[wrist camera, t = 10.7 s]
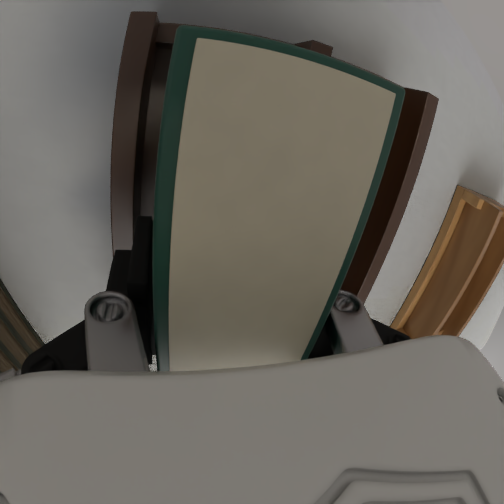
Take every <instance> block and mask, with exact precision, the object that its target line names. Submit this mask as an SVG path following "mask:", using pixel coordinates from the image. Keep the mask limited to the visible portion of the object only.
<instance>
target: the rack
mask: <svg viewBox="0 0 504 504" xmlns="http://www.w3.org/2000/svg"><path fill="white" fill-rule="evenodd" d="M181 25H188V24H176V23H159V19H158V14H157V12H141V11H133V12H131V13H130V17H129V22H128V26H127V31H126V36H125V41H124V46H123V51H122V57H121V63H120V69H119V76H118V83H117V91H116V99H115V108H114V119H113V132H112V149H111V231H112V249H113V257H114V253H115V250H132V244H133V239H134V233H135V228H136V222H137V217H138V216H152V220H153V214H154V194H155V178H156V165H157V154H158V144H159V134H160V125H161V117H162V110H163V102H164V95H165V89H166V82H167V76H168V70H169V65H170V59H171V54H172V49H173V44H174V39H175V34H176V29H177V28H178V27H179V26H181ZM189 26H197V25H189ZM199 27H206V26H199ZM207 28H213V27H207ZM214 29H220V28H214ZM221 30H226V29H221ZM227 31H232V30H227ZM233 32H238V31H233ZM239 33H243V32H239ZM244 34H248V33H244ZM249 35H253V34H249ZM254 36H258V35H254ZM259 37H262V36H259ZM263 38H267V37H263ZM268 39H271V38H268ZM272 40H275V39H272ZM276 41H279V40H276ZM280 42H283V41H280ZM284 43H287V42H284ZM287 44H290V43H287ZM291 45H295V46H298V47H301V48H305V49H308V50H311V51H314V52H318V53H321V54H324V55H326V56H329V57H331V55H332V50H333V47H331V46H329V45H326V44H323V43H320V42H317V41H314V40H311V41H306V42H301V43H297V44H291ZM332 58H334V57H332ZM335 59H337V58H335ZM338 60H340V59H338ZM340 61H342V60H340ZM343 62H345V61H343ZM346 63H348V62H346ZM348 64H350V63H348ZM351 65H353V64H351ZM353 66H355V65H353ZM356 67H358V66H356ZM358 68H360V67H358ZM361 69H363V68H361ZM363 70H365V69H363ZM366 71H367V70H366ZM368 72H370V71H368ZM370 73H372V72H370ZM373 74H374V73H373ZM375 75H376V74H375ZM377 76H379V75H377ZM379 77H381V76H379ZM382 78H383V77H382ZM384 79H385V78H384ZM386 80H387V79H386ZM388 81H389V80H388ZM390 82H392V81H390ZM392 83H394V82H392ZM394 84H396V83H394ZM396 85H398V84H396ZM398 86H400V85H398ZM400 87H402V86H400ZM402 88H404V87H402ZM404 89H405V97H404V101H403V105H402V109H401V113H400V117H399V121H398V125H397V129H396V132H395V136H394V139H393V143H392V146H391V150H390V153H389V157H388V160H387V163H386V167H385V170H384V173H383V176H382V179H381V182H380V185H379V188H378V191H377V194H376V197H375V200H374V203H373V206H372V209H371V212H370V215H369V217H368V220H367V223H366V226H365V228H364V231H363V234H362V236H361V239H360V242H359V244H358V247H357V249H356V252H355V254H354V257H353V259H352V262H351V264H350V267H349V269H348V272H347V274H346V277H345V279H344V281H343V284H342V286H341V288H340V289H343V290H347V291H349V292H351V293H353V294H355V295H356V296H357V297H358V298H359V299H360V300H361V301H362V303H363V304H364V303H365V301H366V299H367V297H368V294H369V292H370V290H371V288H372V286H373V284H374V282H375V280H376V278H377V276H378V274H379V271H380V269H381V267H382V265H383V263H384V260H385V258H386V256H387V253H388V251H389V249H390V246H391V244H392V242H393V239H394V237H395V234H396V232H397V230H398V227H399V225H400V222H401V219H402V217H403V214H404V212H405V209H406V206H407V204H408V201H409V198H410V195H411V193H412V190H413V187H414V184H415V181H416V178H417V175H418V172H419V169H420V166H421V163H422V159H423V156H424V153H425V150H426V146H427V143H428V139H429V136H430V132H431V128H432V124H433V121H434V117H435V113H436V108H437V104H438V100H439V99H438V98H437V97H435V96H434V95H432V94H430V93H429V92H425V91H420V90H415V89H410V88H404Z"/></svg>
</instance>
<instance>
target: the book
mask: <svg viewBox="0 0 504 504" xmlns="http://www.w3.org/2000/svg"><path fill="white" fill-rule="evenodd" d="M404 97H405V89H404V88H402V87H400V86H398V85H396V84H394V83H392V82H390V81H388V80H386V79H384V78H382V77H379V76H377V75H375V74H373V73H370V72H368V71H366V70H363V69H361V68H358V67H356V66H353V65H351V64H348V63H346V62H343V61H340V60H338V59H335V58H332V57H329V56H326V55H324V54H321V53H318V52H314V51H311V50H308V49H305V48H301V47H298V46H295V45H291V44H287V43H284V42H280V41H276V40H272V39H268V38H263V37H259V36H254V35H249V34H244V33H239V32H233V31H227V30H221V29H214V28H207V27H199V26H189V25H181V26H179V27H178V28H177V29H176V34H175V39H174V44H173V49H172V54H171V59H170V65H169V70H168V76H167V82H166V89H165V95H164V102H163V110H162V117H161V125H160V134H159V144H158V154H157V165H156V178H155V194H154V214H153V260H152V266H153V312H154V333H155V348H156V361H157V371H191V370H210V369H225V368H237V367H248V366H258V365H267V364H276V363H284V362H292V361H299V360H306V359H308V357H309V355H310V353H311V351H312V349H313V347H314V345H315V343H316V341H317V339H318V337H319V334H320V332H321V330H322V328H323V326H324V324H325V322H326V320H327V317H328V315H329V313H330V311H331V309H332V307H333V304H334V302H335V300H336V298H337V295H338V293H339V291H340V288H341V286H342V284H343V281H344V279H345V277H346V274H347V272H348V269H349V267H350V264H351V262H352V259H353V257H354V254H355V252H356V249H357V247H358V244H359V242H360V239H361V236H362V234H363V231H364V228H365V226H366V223H367V220H368V217H369V215H370V212H371V209H372V206H373V203H374V200H375V197H376V194H377V191H378V188H379V185H380V182H381V179H382V176H383V173H384V170H385V167H386V163H387V160H388V157H389V153H390V150H391V146H392V143H393V139H394V136H395V132H396V129H397V125H398V121H399V117H400V113H401V109H402V105H403V101H404Z"/></svg>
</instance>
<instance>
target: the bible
mask: <svg viewBox="0 0 504 504" xmlns="http://www.w3.org/2000/svg"><path fill="white" fill-rule="evenodd" d="M44 345H45V344H44V343H43V341H42V340H41V339H40V338H39V336H38V335H37V334H36V332H35V331H34V330H33V328H32V327H31V325H30V324H29V323H28V321H27V320H26V318H25V317H24V315H23V314H22V313H21V311H20V310H19V308H18V307H17V305H16V304H15V302H14V300H13V299H12V297H11V296H10V294H9V293H8V291H7V289H6V288H5V286H4V284H3V283H2V281H1V279H0V373H2V372H5V371H7V370H9V369H12V368H14V369H15V371H18V370H20V369H21V368H22V365H23V363H24V361H25V359H26V358H27V357H28V356H29V355H30V354H31V353H33V352H34V351H36V350H38V349H39V348H41V347H42V346H44Z"/></svg>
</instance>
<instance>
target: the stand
mask: <svg viewBox="0 0 504 504" xmlns="http://www.w3.org/2000/svg"><path fill="white" fill-rule="evenodd" d="M503 263H504V206H503V205H501V204H500V203H499V202H497V201H495V200H493V199H491V198H488V197H486V196H484V195H481V194H479V193H477V192H474V191H472V190H469V189H467V188H464V187H462V186H459V185H457V188H456V191H455V194H454V196H453V199H452V202H451V204H450V207H449V209H448V212H447V214H446V217H445V219H444V222H443V224H442V227H441V229H440V231H439V233H438V236H437V238H436V240H435V242H434V245H433V247H432V249H431V251H430V253H429V255H428V258H427V260H426V262H425V264H424V266H423V268H422V270H421V272H420V274H419V276H418V278H417V280H416V282H415V283H414V285H413V287H412V289H411V291H410V293H409V295H408V296H407V298H406V300H405V302H404V304H403V305H402V307H401V309H400V311H399V312H398V314H397V316H396V317H395V319H394V321H393V322H392V324H391V326H390V327H391V328H393V329H395V330H397V331H400V332H402V333H404V334H406V335H408V336H409V337H410V338H411V339H415V338H420V337H425V336H433V335H451V336H457V337H458V336H459V335H460V334H461V332H462V331H463V329H464V328H465V327H466V325H467V324H468V322H469V321H470V319H471V318H472V316H473V315H474V313H475V312H476V310H477V308H478V307H479V305H480V304H481V302H482V300H483V299H484V297H485V295H486V294H487V292H488V290H489V289H490V287H491V285H492V283H493V282H494V280H495V278H496V276H497V274H498V273H499V271H500V269H501V267H502V265H503Z"/></svg>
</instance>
